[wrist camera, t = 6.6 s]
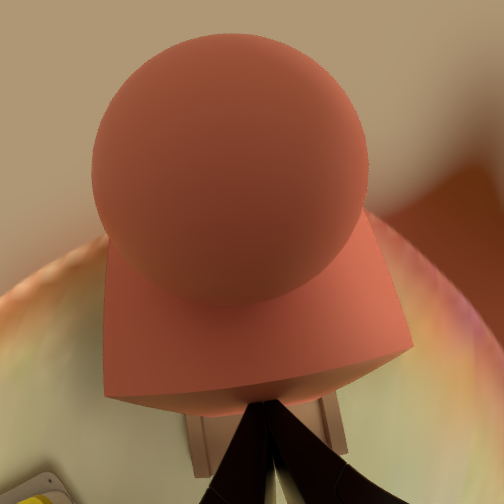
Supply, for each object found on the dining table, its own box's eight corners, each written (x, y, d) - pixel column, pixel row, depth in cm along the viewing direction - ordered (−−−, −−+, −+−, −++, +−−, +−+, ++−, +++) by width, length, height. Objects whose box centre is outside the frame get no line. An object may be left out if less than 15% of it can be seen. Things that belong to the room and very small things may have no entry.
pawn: (313, 401, 14) (571, 209, 1) (211, 417, 14) (-87, 310, 1) (293, 309, 16) (348, -1, 4) (199, 323, 16) (68, 35, 4)
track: (342, 449, 13) (352, 451, 12) (198, 473, 13) (190, 478, 11) (292, 234, 20) (294, 217, 19) (176, 251, 20) (169, 235, 18)
